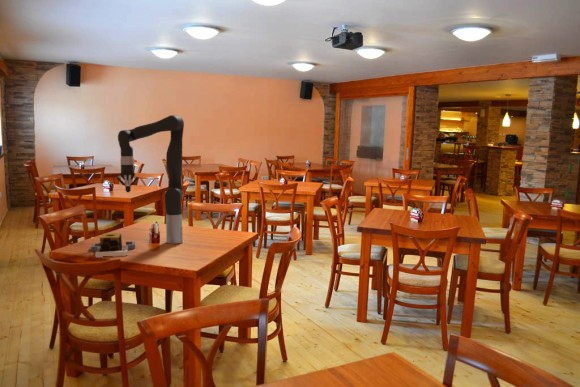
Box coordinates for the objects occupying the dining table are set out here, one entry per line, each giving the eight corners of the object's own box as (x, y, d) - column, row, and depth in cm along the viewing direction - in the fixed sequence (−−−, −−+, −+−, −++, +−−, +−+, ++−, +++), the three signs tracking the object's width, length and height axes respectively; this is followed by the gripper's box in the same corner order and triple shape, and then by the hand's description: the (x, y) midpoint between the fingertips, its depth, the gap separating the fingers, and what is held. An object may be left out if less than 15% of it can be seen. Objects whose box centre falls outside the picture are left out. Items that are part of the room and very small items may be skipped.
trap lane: (135, 245, 284) (135, 240, 283) (134, 255, 262) (134, 250, 262) (92, 247, 277) (92, 243, 277) (88, 257, 256) (88, 253, 256)
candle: (119, 255, 262) (118, 237, 261) (99, 255, 261) (99, 237, 259) (122, 250, 272) (122, 233, 271) (103, 250, 271) (103, 233, 269)
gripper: (115, 164, 286) (116, 193, 288) (138, 164, 289) (139, 192, 292) (115, 163, 293) (116, 191, 295) (138, 163, 297) (139, 191, 299)
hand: (128, 192), depth 294 cm, fingers closed
